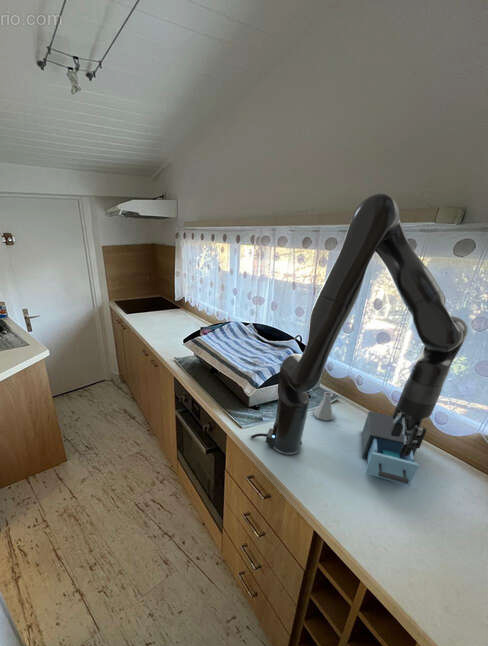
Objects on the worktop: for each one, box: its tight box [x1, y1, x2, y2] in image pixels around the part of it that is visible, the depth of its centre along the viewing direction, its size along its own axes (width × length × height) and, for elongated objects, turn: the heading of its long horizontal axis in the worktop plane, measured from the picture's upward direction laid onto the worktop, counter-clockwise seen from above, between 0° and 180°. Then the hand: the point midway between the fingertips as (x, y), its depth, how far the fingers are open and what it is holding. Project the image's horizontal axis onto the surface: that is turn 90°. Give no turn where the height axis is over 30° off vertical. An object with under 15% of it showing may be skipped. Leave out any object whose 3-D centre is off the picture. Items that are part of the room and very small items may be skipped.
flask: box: [313, 391, 334, 421], centre depth 119 cm, size 7×7×10 cm
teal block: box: [381, 450, 400, 458], centre depth 92 cm, size 4×4×4 cm
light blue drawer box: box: [364, 437, 420, 487], centre depth 92 cm, size 18×11×8 cm, turn 154°
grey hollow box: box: [361, 410, 418, 460], centre depth 101 cm, size 15×13×10 cm
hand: (399, 444), depth 86 cm, fingers open, 8 cm apart
